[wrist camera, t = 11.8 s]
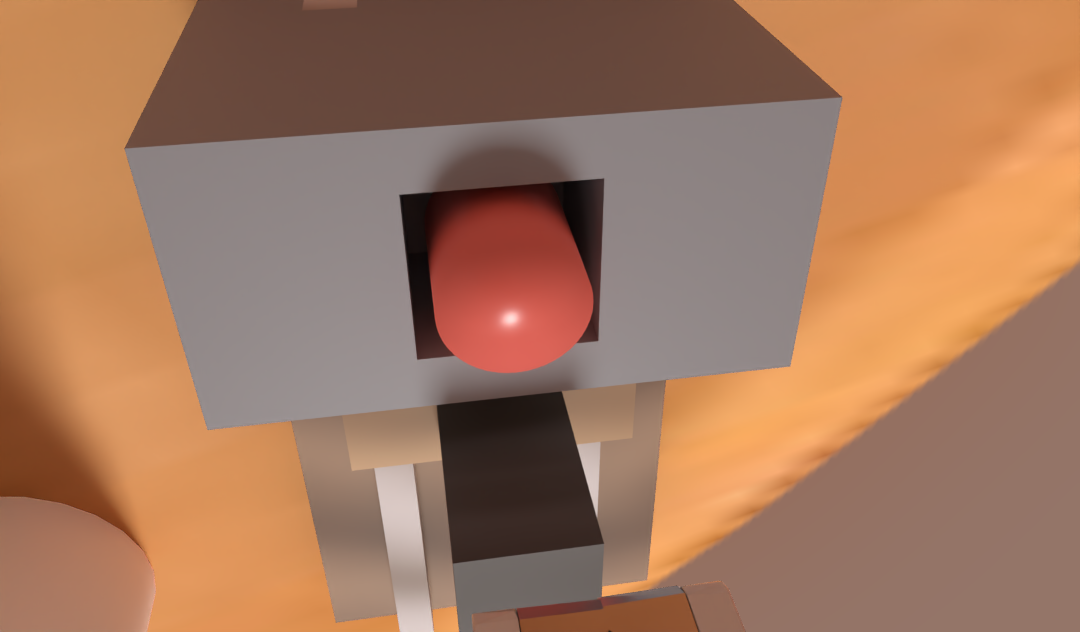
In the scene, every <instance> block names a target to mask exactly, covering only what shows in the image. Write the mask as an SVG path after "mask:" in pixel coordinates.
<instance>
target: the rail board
mask: <svg viewBox="0 0 1080 632" xmlns="http://www.w3.org/2000/svg"><path fill="white" fill-rule="evenodd" d="M356 7H357V0H304V2H303V8H302V10H320V9H338V8H356ZM665 383H666V380H661V381H652V382H642V383H636V394H635V408H634V422H633V437H632V438H629V439H620V440H612V441H603V442H595V443H586V444H577V448H578V451H579V455H580V458H581V462H582V466H583V469H584V473H585V477H586V480H587V484H588V487H589V491H590V495H591V498H592V502H593V505H594V509H595V513H596V516H597V520H598V524H599V527H600V531H601V534H602V538H603V542H604V556H603V577H602V586H607V585H615V584H622V583H629V582H637V581H644V580H647V575H648V565H649V554H650V543H651V533H652V522H653V511H654V501H655V490H656V479H657V469H658V458H659V447H660V437H661V426H662V415H663V405H664V394H665ZM291 422H292V426H293V431H294V435H295V440H296V444H297V449H298V453H299V458H300V462H301V467H302V471H303V476H304V480H305V485H306V489H307V494H308V498H309V503H310V507H311V512H312V516H313V521H314V525H315V530H316V534H317V539H318V543H319V548H320V552H321V557H322V561H323V566H324V570H325V575H326V579H327V584H328V588H329V593H330V597H331V602H332V607H333V611H334V616H335V620H336V623H337V622H344V621H352V620H359V619H366V618H373V617H381V616H388V615H395V614H397V616H398V622H399V628H400V632H434V627H433V614H432V609H439V608H447V607H454V606H457V604H456V594H455V585H454V575H453V565H452V555H451V545H450V535H449V525H448V515H447V505H446V495H445V485H444V475H443V465H442V460H440V461H432V462H423V463H415V464H406V465H398V466H389V467H380V468H372V469H363V470H355V471H352V469H351V463H350V457H349V452H348V446H347V440H346V435H345V429H344V424H343V418H342V415H340V416H331V417H322V418H313V419H304V420H294V421H291Z"/></svg>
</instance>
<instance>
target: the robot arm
mask: <svg viewBox="0 0 1080 632" xmlns="http://www.w3.org/2000/svg"><path fill="white" fill-rule="evenodd" d="M472 625H473V632H746V631H745V628H744V626H743V623H742V621H741V618H740V616H739V613H738V611H737V608H736V606H735V604H734V601H733V599H732V596H731V594H730V591H729V589H728V588H727V586H726V585H725V584H724V583H723V582H722V581H714V582H708V583H701V584H695V585H688V586H682V587H678V586H672V587H665V588H658V589H652V590H645V591H638V592H632V593H625V594H618V595H612V596H605V597H598V598H597V599H595V600H586V601H577V602H569V603H560V604H551V605H542V606H533V607H524V608H516V610H515V608H513V609H505V610H498V611H490V612H483V613H475V614H472Z"/></svg>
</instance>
